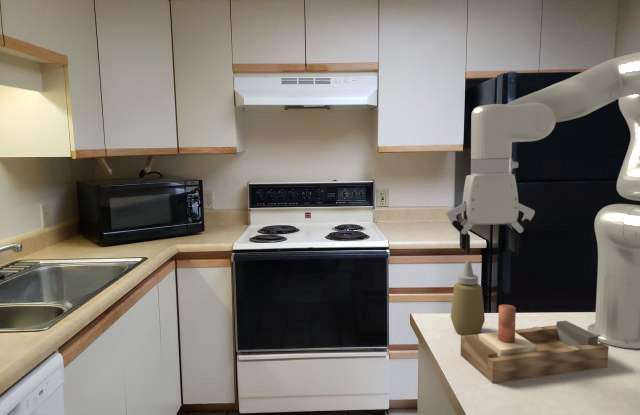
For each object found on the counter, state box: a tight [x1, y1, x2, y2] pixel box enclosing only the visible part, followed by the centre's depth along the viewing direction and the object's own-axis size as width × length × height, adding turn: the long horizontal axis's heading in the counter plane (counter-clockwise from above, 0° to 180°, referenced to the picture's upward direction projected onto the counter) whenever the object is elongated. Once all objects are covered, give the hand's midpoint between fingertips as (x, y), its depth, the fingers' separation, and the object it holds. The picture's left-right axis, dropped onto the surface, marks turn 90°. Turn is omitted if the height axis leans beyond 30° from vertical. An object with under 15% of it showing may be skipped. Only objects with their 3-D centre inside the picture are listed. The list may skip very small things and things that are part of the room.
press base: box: [460, 320, 610, 384], centre depth 90 cm, size 26×12×6 cm, turn 101°
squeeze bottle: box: [450, 260, 486, 336], centre depth 105 cm, size 8×8×18 cm
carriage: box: [478, 304, 537, 356], centre depth 88 cm, size 8×8×10 cm
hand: (489, 251), depth 87 cm, fingers open, 9 cm apart
